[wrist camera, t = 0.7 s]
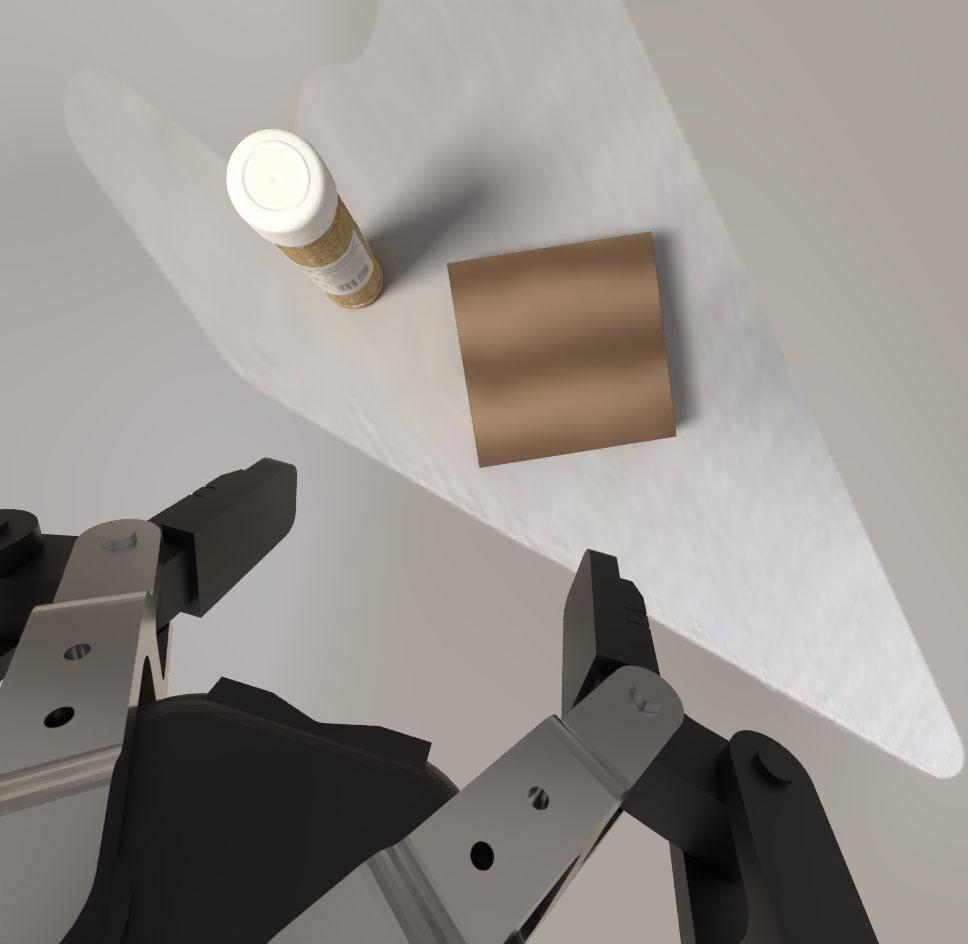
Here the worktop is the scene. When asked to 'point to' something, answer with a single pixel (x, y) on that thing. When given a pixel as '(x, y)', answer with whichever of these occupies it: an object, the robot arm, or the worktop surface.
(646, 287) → the walnut base
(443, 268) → the worktop surface
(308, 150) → the spice jar
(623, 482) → the worktop surface
